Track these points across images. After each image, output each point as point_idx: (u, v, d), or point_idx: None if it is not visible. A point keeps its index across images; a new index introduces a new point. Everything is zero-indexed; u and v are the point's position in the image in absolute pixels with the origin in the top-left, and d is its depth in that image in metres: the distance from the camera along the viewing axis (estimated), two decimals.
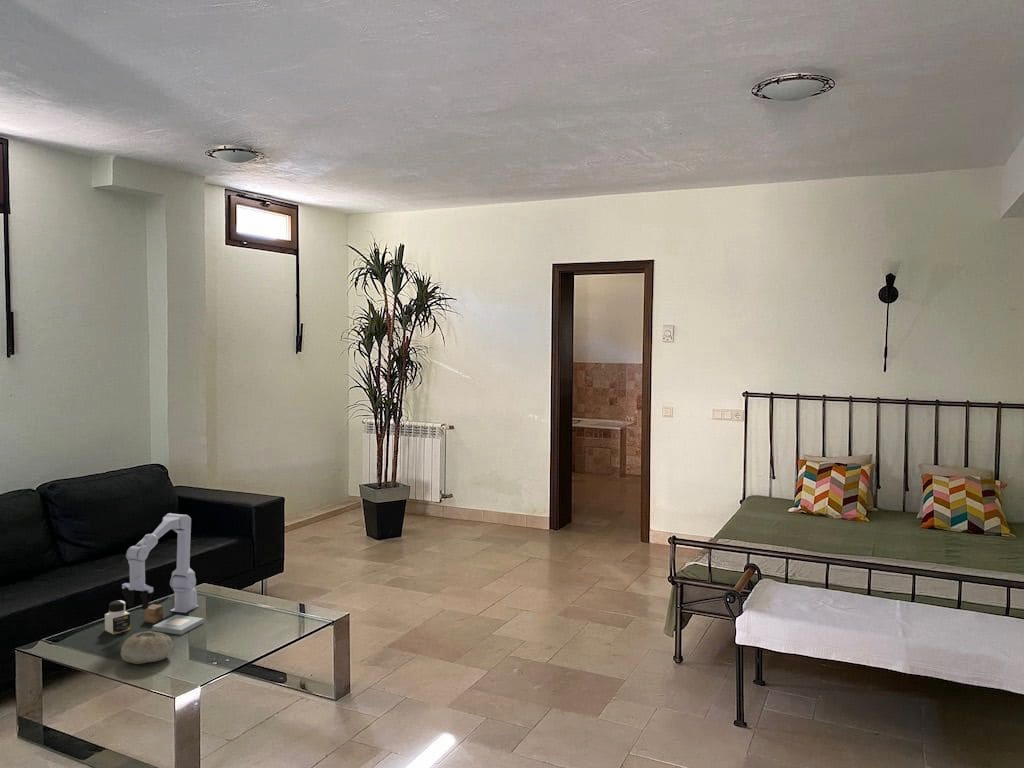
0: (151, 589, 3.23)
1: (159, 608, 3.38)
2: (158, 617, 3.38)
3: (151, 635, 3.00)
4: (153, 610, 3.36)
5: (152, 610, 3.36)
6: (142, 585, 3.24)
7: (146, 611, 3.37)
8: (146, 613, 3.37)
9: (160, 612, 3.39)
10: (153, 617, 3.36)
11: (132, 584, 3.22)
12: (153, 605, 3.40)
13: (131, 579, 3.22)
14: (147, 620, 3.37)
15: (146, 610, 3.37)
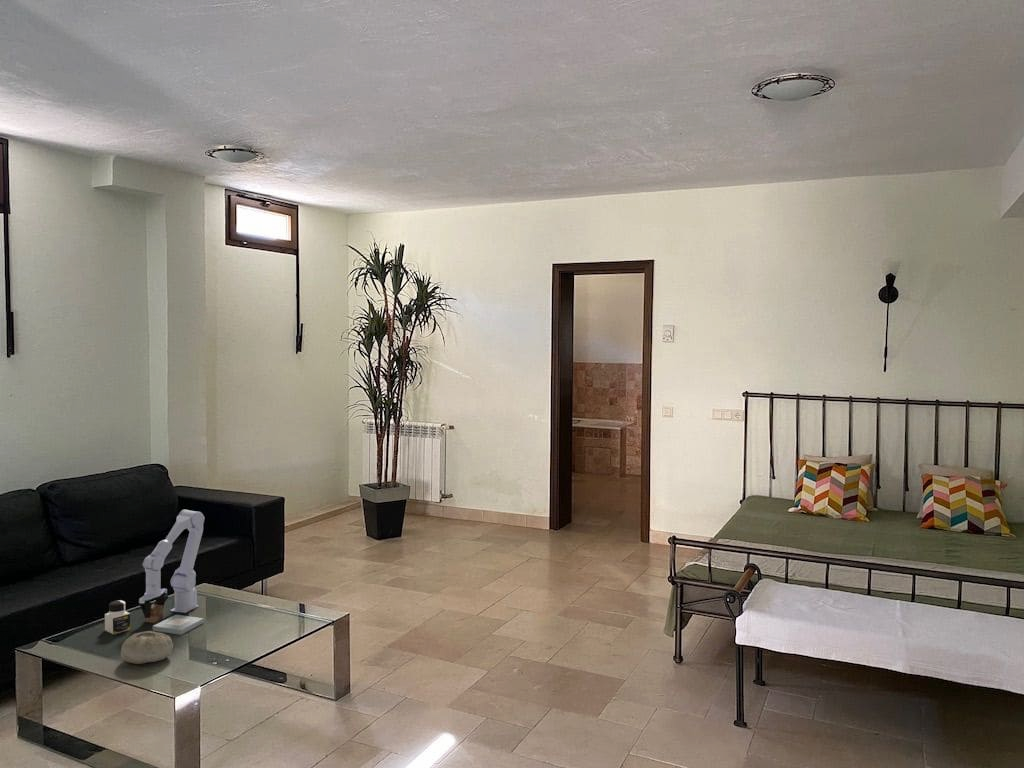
0: (141, 600, 3.31)
1: (159, 608, 3.38)
2: (158, 617, 3.38)
3: (151, 635, 3.00)
4: (153, 610, 3.35)
5: (152, 610, 3.36)
6: (148, 594, 3.35)
7: None
8: None
9: (160, 612, 3.39)
10: (153, 617, 3.36)
11: None
12: (153, 605, 3.40)
13: None
14: (147, 620, 3.37)
15: None
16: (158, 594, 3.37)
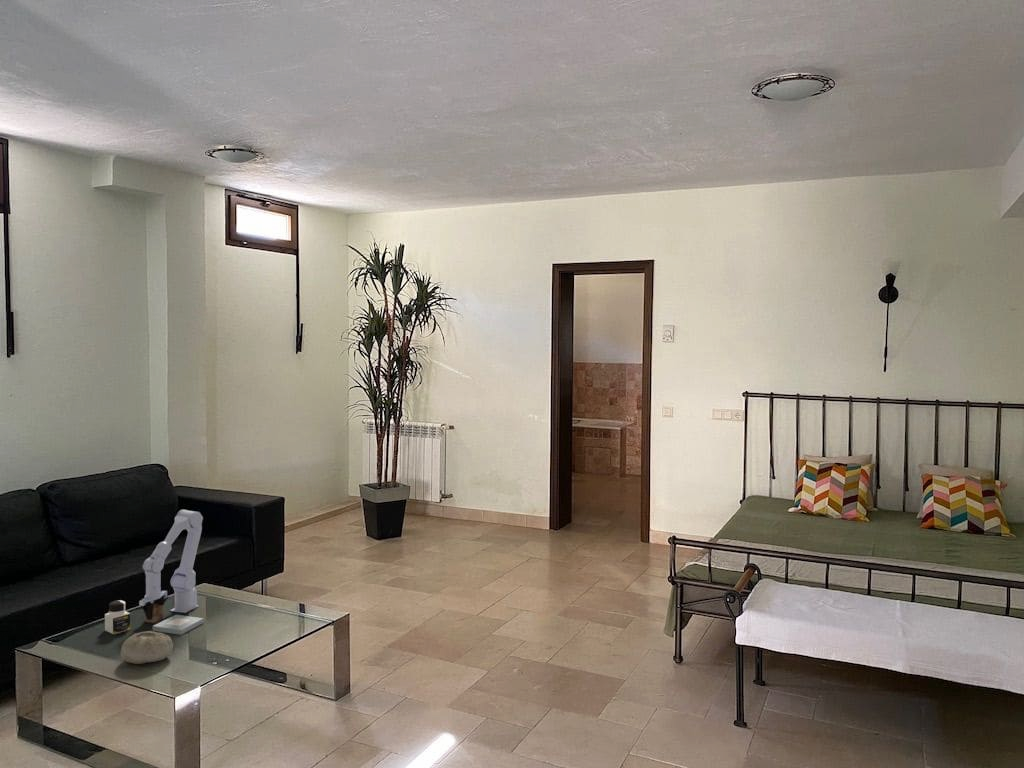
0: (141, 603, 3.31)
1: (159, 608, 3.38)
2: (158, 616, 3.38)
3: (151, 635, 3.00)
4: (153, 610, 3.35)
5: None
6: (148, 596, 3.35)
7: None
8: None
9: (160, 612, 3.39)
10: (153, 617, 3.36)
11: None
12: None
13: None
14: (147, 620, 3.37)
15: None
16: (158, 596, 3.37)
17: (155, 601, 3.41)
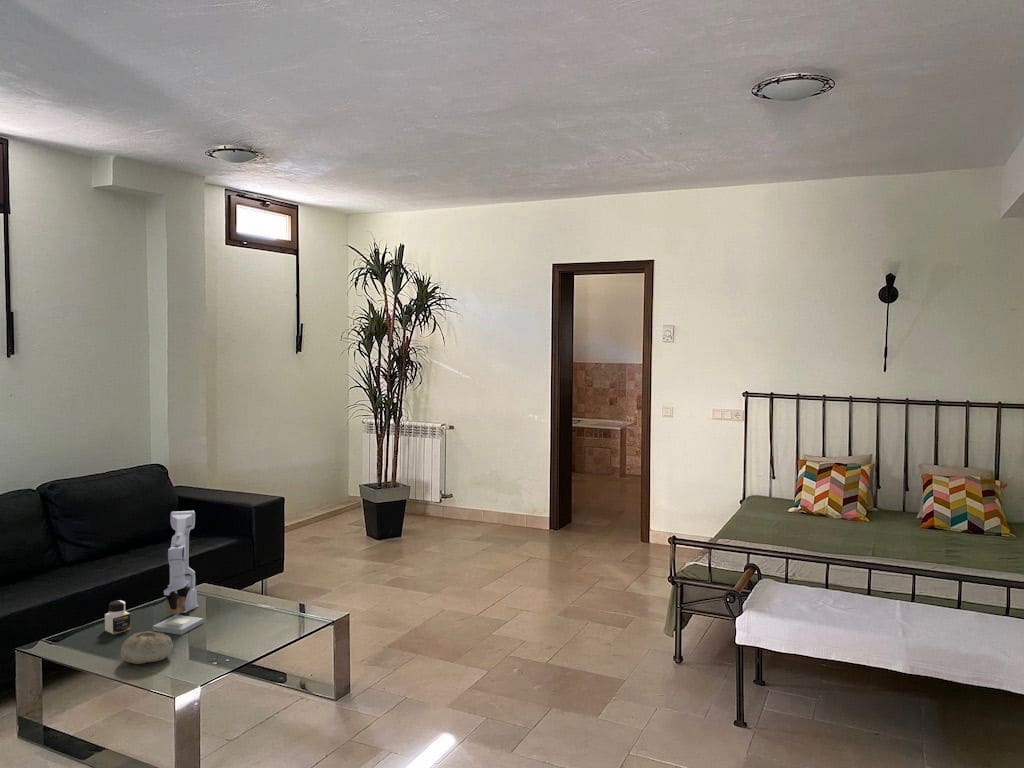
0: (165, 592, 3.24)
1: (182, 599, 3.32)
2: (180, 608, 3.31)
3: (151, 635, 3.00)
4: None
5: None
6: (172, 586, 3.28)
7: (168, 603, 3.29)
8: (168, 605, 3.29)
9: (182, 603, 3.32)
10: None
11: None
12: None
13: None
14: (169, 612, 3.29)
15: (168, 602, 3.29)
16: (182, 586, 3.30)
17: (178, 591, 3.34)
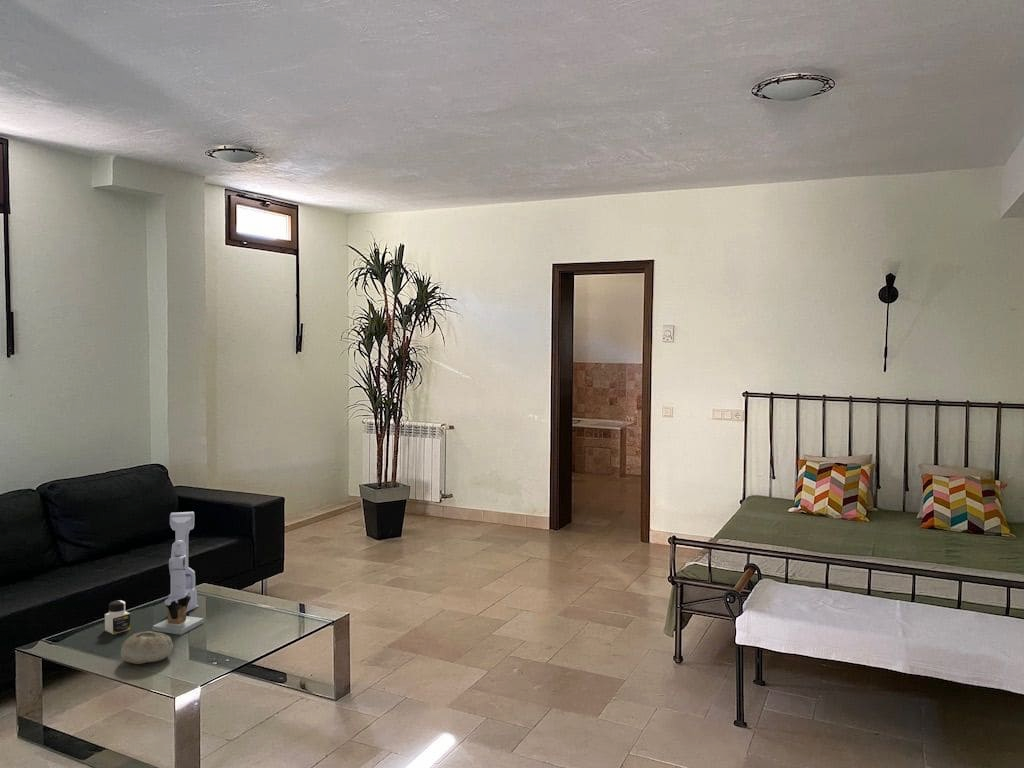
0: (167, 602, 3.24)
1: (183, 609, 3.32)
2: (181, 617, 3.31)
3: (151, 635, 3.00)
4: None
5: None
6: (173, 595, 3.28)
7: (169, 612, 3.29)
8: (169, 614, 3.29)
9: (183, 613, 3.32)
10: None
11: None
12: None
13: None
14: (170, 621, 3.29)
15: None
16: (183, 595, 3.30)
17: (179, 600, 3.34)
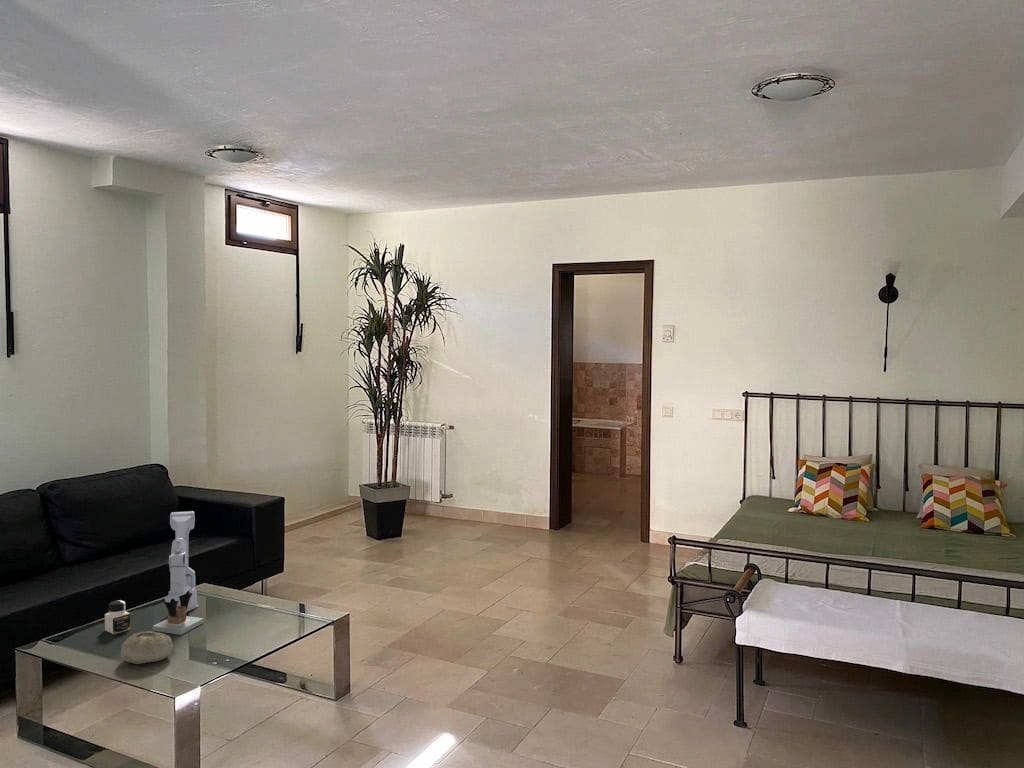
0: (166, 599, 3.24)
1: (183, 609, 3.32)
2: (182, 618, 3.31)
3: (151, 635, 3.00)
4: (177, 611, 3.29)
5: (176, 611, 3.29)
6: (173, 592, 3.28)
7: None
8: None
9: (183, 613, 3.32)
10: (176, 618, 3.29)
11: None
12: None
13: None
14: (170, 621, 3.29)
15: None
16: (183, 592, 3.30)
17: (180, 596, 3.35)
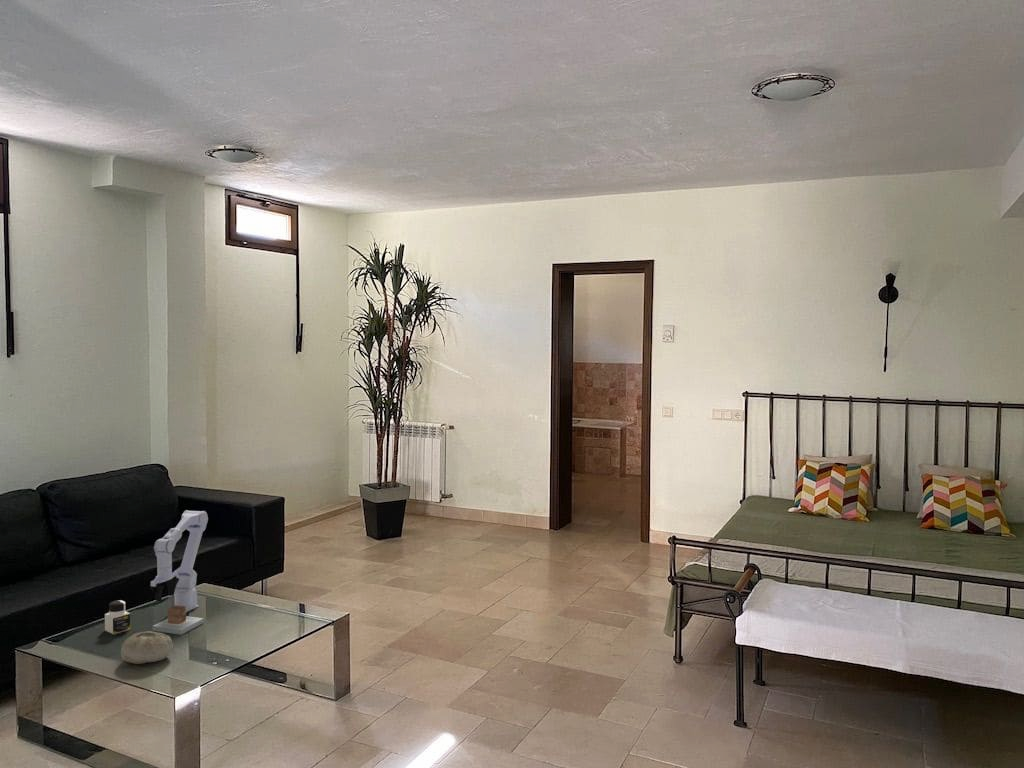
0: (152, 583, 3.30)
1: (183, 609, 3.32)
2: (182, 618, 3.31)
3: (151, 635, 3.00)
4: (177, 611, 3.29)
5: (176, 611, 3.29)
6: (159, 577, 3.34)
7: (169, 612, 3.29)
8: (169, 614, 3.29)
9: (183, 613, 3.32)
10: (176, 618, 3.29)
11: None
12: (176, 606, 3.33)
13: None
14: (170, 621, 3.29)
15: (169, 611, 3.29)
16: (169, 577, 3.36)
17: (168, 581, 3.41)
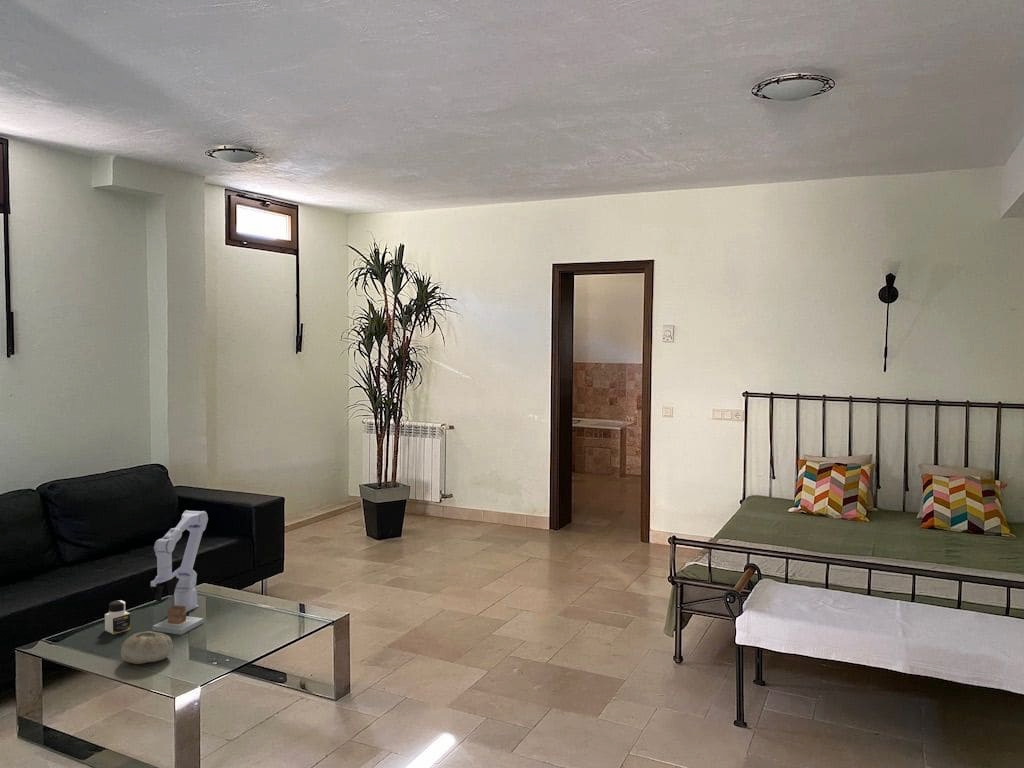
0: (152, 583, 3.30)
1: (183, 609, 3.32)
2: (182, 618, 3.31)
3: (151, 635, 3.00)
4: (177, 611, 3.29)
5: (176, 611, 3.29)
6: (159, 577, 3.34)
7: (169, 612, 3.29)
8: (169, 614, 3.29)
9: (183, 613, 3.32)
10: (176, 618, 3.29)
11: None
12: (176, 606, 3.33)
13: None
14: (170, 621, 3.29)
15: (169, 611, 3.29)
16: (169, 577, 3.36)
17: (168, 581, 3.41)
